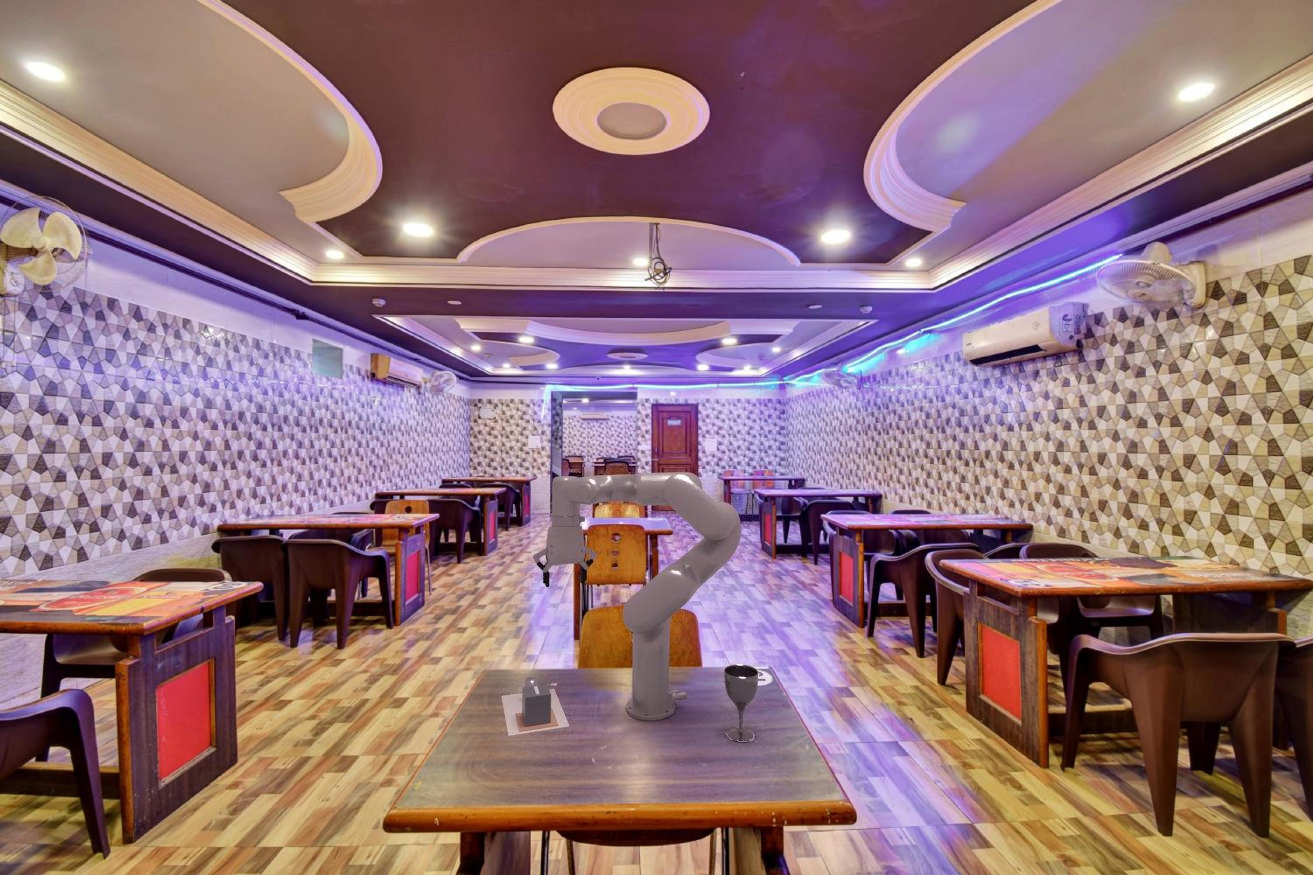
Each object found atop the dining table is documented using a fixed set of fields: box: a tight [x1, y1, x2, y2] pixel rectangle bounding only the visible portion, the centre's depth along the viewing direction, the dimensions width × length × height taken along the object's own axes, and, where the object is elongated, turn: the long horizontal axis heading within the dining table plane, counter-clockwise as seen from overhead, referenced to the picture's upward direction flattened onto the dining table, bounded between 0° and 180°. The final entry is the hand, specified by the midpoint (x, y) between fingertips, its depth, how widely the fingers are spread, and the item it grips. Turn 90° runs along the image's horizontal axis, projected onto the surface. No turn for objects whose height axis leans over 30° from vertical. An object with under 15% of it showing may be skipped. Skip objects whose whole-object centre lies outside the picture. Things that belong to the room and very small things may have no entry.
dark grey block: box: [521, 684, 551, 727], centre depth 134 cm, size 6×6×7 cm
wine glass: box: [723, 663, 759, 742], centre depth 131 cm, size 8×8×15 cm
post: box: [524, 676, 538, 687], centre depth 145 cm, size 3×3×6 cm
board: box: [501, 688, 570, 737], centre depth 139 cm, size 14×22×2 cm, turn 20°
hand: (564, 584), depth 151 cm, fingers open, 9 cm apart
